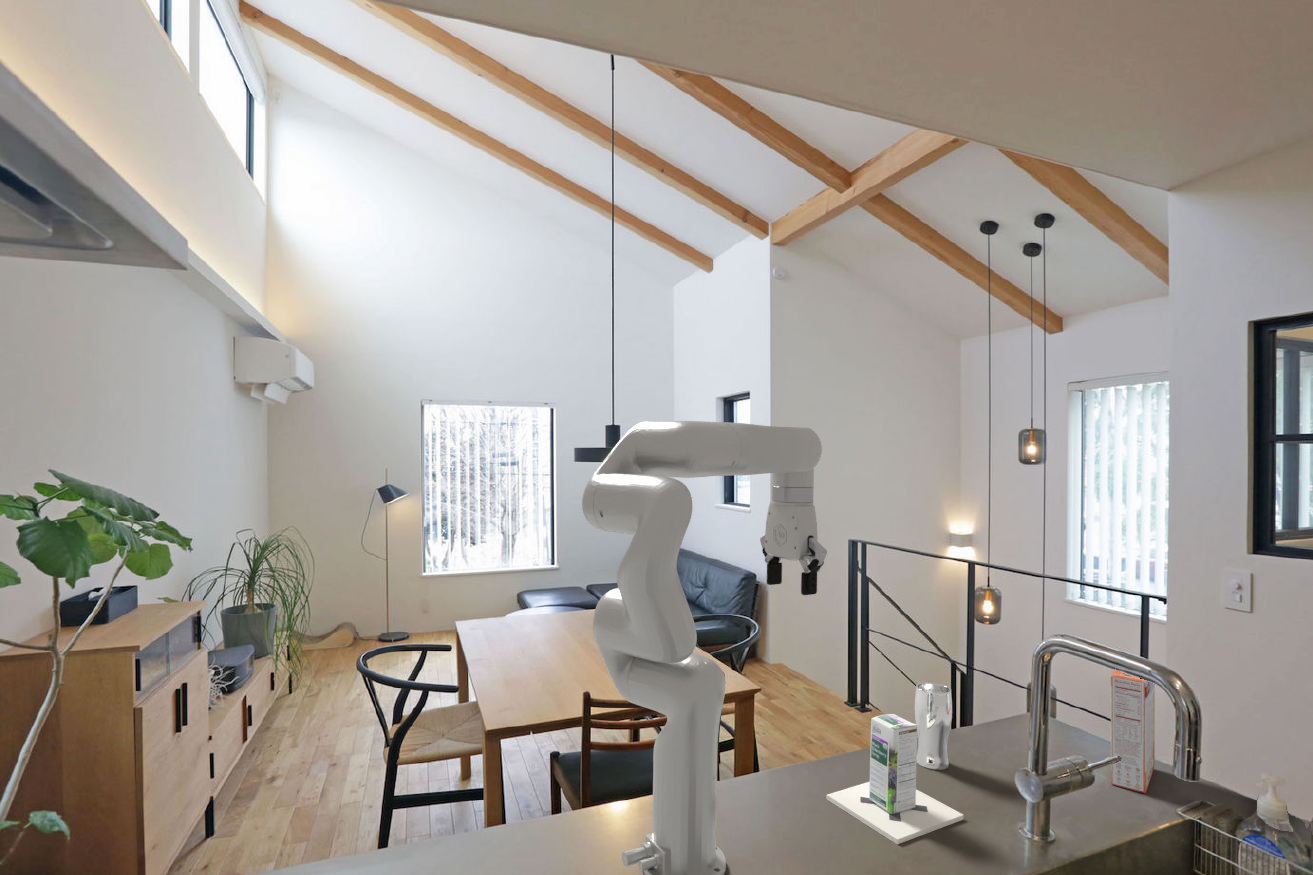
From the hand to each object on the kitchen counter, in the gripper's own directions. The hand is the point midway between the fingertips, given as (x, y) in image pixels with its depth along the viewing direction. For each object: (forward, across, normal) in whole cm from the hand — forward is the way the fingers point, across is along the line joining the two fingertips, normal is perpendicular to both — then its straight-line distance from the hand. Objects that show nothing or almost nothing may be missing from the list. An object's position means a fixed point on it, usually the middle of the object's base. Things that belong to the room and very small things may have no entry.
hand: (791, 589), depth 132 cm
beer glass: (+36, +6, +32) cm, 49 cm away
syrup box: (+36, +15, +11) cm, 40 cm away
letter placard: (+36, +15, +11) cm, 41 cm away
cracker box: (+36, +28, +62) cm, 77 cm away
